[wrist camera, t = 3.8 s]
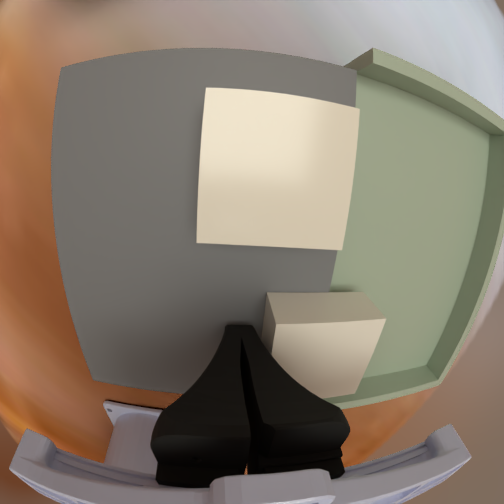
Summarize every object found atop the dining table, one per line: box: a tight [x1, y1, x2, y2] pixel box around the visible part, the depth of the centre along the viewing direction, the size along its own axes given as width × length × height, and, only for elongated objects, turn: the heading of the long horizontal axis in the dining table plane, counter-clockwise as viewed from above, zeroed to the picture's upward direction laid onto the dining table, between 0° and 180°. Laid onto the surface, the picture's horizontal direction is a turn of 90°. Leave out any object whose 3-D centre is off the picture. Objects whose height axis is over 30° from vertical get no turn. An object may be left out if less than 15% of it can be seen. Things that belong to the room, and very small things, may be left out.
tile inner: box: [261, 292, 386, 398], centre depth 12 cm, size 5×5×2 cm
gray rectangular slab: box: [51, 48, 357, 394], centre depth 13 cm, size 18×14×3 cm
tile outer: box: [197, 88, 360, 250], centre depth 9 cm, size 5×5×2 cm
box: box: [322, 48, 504, 409], centre depth 14 cm, size 20×12×4 cm, turn 175°
